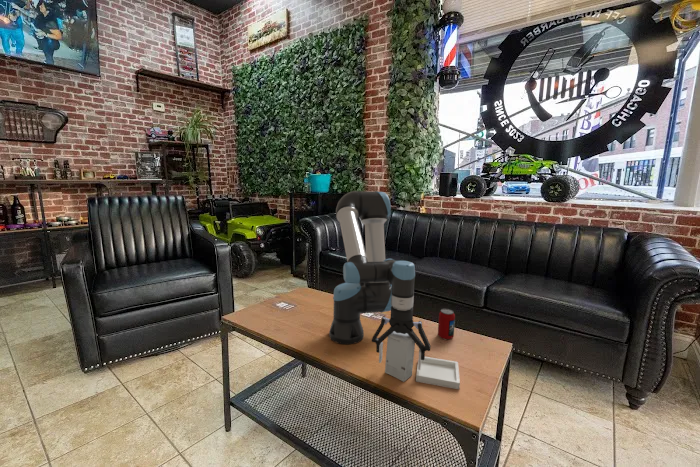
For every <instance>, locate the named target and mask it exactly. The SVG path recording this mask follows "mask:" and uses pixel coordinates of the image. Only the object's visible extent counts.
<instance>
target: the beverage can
mask: <svg viewBox="0 0 700 467" xmlns="http://www.w3.org/2000/svg"><path fill="white" fill-rule="evenodd" d="M455 322H456V314H455V313H454V310H452V309H451V308H450V309H449V308H441V309H440V311H439V313H438V325H437V326H438V327H437V336H438V337H440V338H441V339H443V340H451V339H454V337H455V326H456V325H455Z"/></svg>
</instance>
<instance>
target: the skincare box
mask: <svg viewBox="0 0 700 467" xmlns="http://www.w3.org/2000/svg"><path fill="white" fill-rule="evenodd" d="M415 345H416V343H415V342H414V341H413V339H412V338H411V337H410V336H409V335H408V334H407V333H405V334H402V333H396V332H395V331H394V332H393V333H391V334H390V335H389V336H388V337H387V343H386V355H385V367H384V373H385V374H387V375H389V376H392V377H394V378H396V379H398V380H400V381H401V382H403V383H404V382H406V381H407V380H408V379H410V377H412V376H413V369H414V360H415V359H414V357H415V347H416V346H415Z"/></svg>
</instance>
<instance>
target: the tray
mask: <svg viewBox="0 0 700 467" xmlns="http://www.w3.org/2000/svg"><path fill="white" fill-rule="evenodd" d="M418 360H419V358H418ZM418 360H417V361H418ZM415 382H416V383H422V384H429V385H431V386H432V385H434V386H438V387H439V386H440V387H444V388H449V389H456V390H460V386H461V383H460V382H461V380H460V370H459V361H456V360H449V359H442V358H436V357H432V356H431V357H429V356H425V358H424V360H421V368H420V370H418V365H417V369H416V375H415Z"/></svg>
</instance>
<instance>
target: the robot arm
mask: <svg viewBox="0 0 700 467" xmlns="http://www.w3.org/2000/svg"><path fill="white" fill-rule="evenodd" d="M335 207H336V208H335V216H336V220H337V221H338V222H339V225H340V229H341V236H342V241H343V247H344V251H345V257H346V261H347V262H345V263H344V264H343V268H342V274H343V276H342V277H343V280H344V282H342V283H339V284H338V285H336V286H335V288H334V290H333V296H332V299H333V314H332V315H333V316H332V318H333V319H332V322H331V325H330V328H329V331H328V332H329V334H328V335H329V336H328V337H329V339H330V340H331V341H333V342H334V343H337V344H340V345H352V344H353V345H354V344H357V343H359V342H361V341H362V340H363V339H364V335H365V333H364V332H365V331H364V328H363V325H362V321H361V314H373V313H374V314H375V313H385V312H390V318H387V317H386V316H384V315H383V316H382V318H381V319H380V324H379V326H378V327H377V328H376V331H375V333H374V334H373V336H372V338H371V343H375V344H376V347H375V348H376V350H375V351H376V353H378V363H379V364H382V362H383V353H384V351H383V349H384V346H383V345H384V340H386V339H388V336H389V335H390V334H391V333H393V332H394V331H395V332H396V333H402V334H405V333H407V334H408V335H409V336H410V337H411V338H412V339H413V341H414V342H415V345H416V346H417V347H418V359H419V360H417V366H418V370H420V368H421V360H424V358H425V357H426V356H425V354H426V352H427V351H428V352H430V351H431V347H432V346H431V344H430V341H429V339H428V337H427V335H426V333H425V330H424V328H423V321H422V320H419V321H414V318H413V317H414V301H415V298H414V297H415V279H416V268H415V266H416V265H415V263H413V261H412V262H411V261H408V260H395V259H393V258H386V246H385V226H384V224H385V223H386V222H388V219H387V218H389V217H390V216H391V211H392V210H391V209H392V206H391V200H390V198H389V195H388V194H387V193H386V192H385V191H378V190H375V191H374V190H373V191H370V190H369V191H368V190H367V191H362V190H361V191H359V190H353V191H350V192H347V193H345V194H344V195H343V196H342V197H341V198H340V199H339V200H338V202H337V205H336V206H335ZM358 218H360V222H361V223H362V224H363V225H364V235H365V236H364V237H365V241H364V239H363V237H362V232H361V229H360V225H359V221H358ZM364 242H365V243H364ZM364 244H365V245H364ZM361 284H363V285H361ZM388 323H389V325H390V327H389V328H388V329H387V330H385V332H383V334H382V335H380V333H381V331H382V330H383V328H384V326H385V325H387V324H388ZM414 327H415V329H416V330H418V333H419V336H420V338H421V339H420V338H419V336H418V335H417V334H416V332H415V331H414V329H413V328H414ZM379 335H380V336H379Z"/></svg>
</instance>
